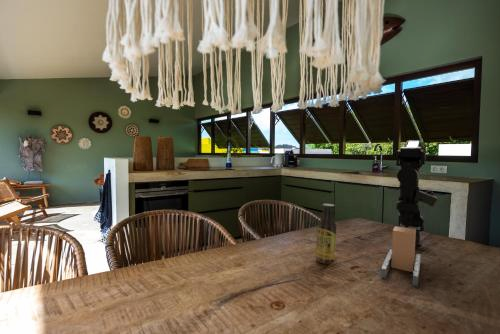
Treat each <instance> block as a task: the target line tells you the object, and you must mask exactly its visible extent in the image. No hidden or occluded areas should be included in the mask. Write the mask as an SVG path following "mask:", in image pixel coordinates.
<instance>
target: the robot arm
mask: <svg viewBox="0 0 500 334" xmlns="http://www.w3.org/2000/svg"><path fill="white" fill-rule="evenodd" d="M426 159H427V148H426V147H425V146H424V145H423V144H422V140H418V139H417V140H407V141H406V145H405V146H401V147H400V148H399V149H398V150H397V155H396V165H395V166H396V167H400V169H399V170H398V172H397V174H396V179H397V181H398V182H399V186H398V189H399V190H398V201H397V202H396V210H397V211H398V212H399V213H398V227H403V228H410V229H416V237H415V247H416V246H417V247H418V246H422V245H423V244H422V243H420V242H421V233H420V232H424V231H425V220H424V218H423V216H421V214H422V213H421V211H420V209H419V208H420V207H419V202H421V203H424V204H425V205H428V206H429V207H432V208H434V207H435V205H436V204H437V202H438V200H439V198H438V197H437V196H436V195H434V192H433V191H431V190H427V191H426V192H425V191H422V190H420V185H419V181H420V179H419V178H420V171H421V170H422V168H423V167H424V166H425V164H426V163H425V162H426V161H427V160H426Z"/></svg>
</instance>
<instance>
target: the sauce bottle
mask: <svg viewBox="0 0 500 334" xmlns="http://www.w3.org/2000/svg"><path fill="white" fill-rule="evenodd" d="M321 209H322V214H321V218H320V220H319V223H318V227H317V232H316V233H317V234H316V248H315V258H316V259H315V260H316V261H317V262H318V263H321V264H325V265H330V264H331V263H332V262H333V261H334V260H335V257H336V256H335V255H336V254H335V252H336V243H337V242H336V241H337V223H336V221H335V220H334V219H335V216H334V215H335V214H334V213H335V209H336V205H335V204H332V203H322V207H321Z"/></svg>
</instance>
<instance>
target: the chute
mask: <svg viewBox="0 0 500 334" xmlns="http://www.w3.org/2000/svg"><path fill="white" fill-rule="evenodd" d="M421 258H422V256H421V254H420V253H416V256H415V259H414V269H413V272H412V286H413V287H416V288H418V286H419V285H418V284H419V276H420V268H421ZM391 261H392V248H390V249H389V250H388V253H387V255H386V257H385V258H384V262H383V263H382V265H381V269H380V278H381V279H384V280H386V279H387V276H388V273H389V271H390V268H391Z"/></svg>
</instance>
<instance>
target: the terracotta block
mask: <svg viewBox="0 0 500 334" xmlns="http://www.w3.org/2000/svg"><path fill="white" fill-rule="evenodd" d="M415 237H416V229H410V228H403V227H399V226H394V228H393V229H392V238H391V239H392V241H391V242H392V245H391V249H392V261H391V265H390V268H392V269H397V270H401V271H406V272H411V273H413V272H414V266H415V258H416V256H415V253H416V246H415Z"/></svg>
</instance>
